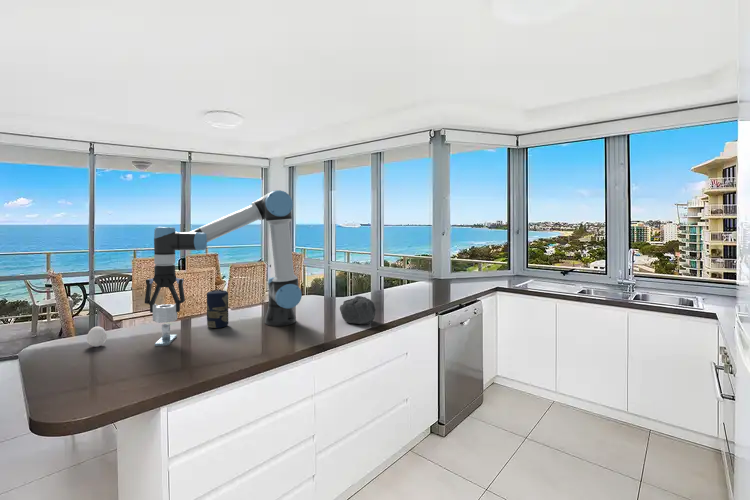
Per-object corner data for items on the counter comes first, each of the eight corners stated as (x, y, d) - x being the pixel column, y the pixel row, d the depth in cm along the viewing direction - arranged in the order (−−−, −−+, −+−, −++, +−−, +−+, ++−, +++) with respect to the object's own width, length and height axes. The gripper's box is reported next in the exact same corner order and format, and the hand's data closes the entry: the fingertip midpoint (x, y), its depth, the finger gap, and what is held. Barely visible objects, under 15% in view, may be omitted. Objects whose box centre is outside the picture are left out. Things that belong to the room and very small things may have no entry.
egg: (89, 344, 149) (89, 325, 149) (109, 343, 152) (108, 323, 151) (84, 349, 143) (84, 329, 143) (104, 347, 146) (104, 327, 145)
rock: (332, 298, 192) (353, 289, 202) (336, 323, 195) (356, 313, 206) (361, 306, 177) (382, 295, 188) (365, 333, 180) (385, 321, 191)
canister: (220, 330, 173) (220, 291, 172) (202, 328, 175) (202, 290, 174) (232, 324, 183) (232, 288, 182) (215, 323, 185) (214, 287, 183)
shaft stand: (176, 336, 162) (176, 320, 161) (168, 345, 150) (168, 328, 150) (163, 337, 161) (163, 321, 160) (154, 346, 149) (154, 328, 149)
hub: (176, 318, 159) (176, 304, 159) (172, 322, 152) (172, 307, 152) (158, 318, 157) (158, 304, 157) (153, 322, 151) (152, 308, 150)
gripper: (193, 263, 160) (193, 317, 161) (140, 263, 155) (141, 318, 156) (189, 265, 152) (189, 321, 154) (134, 265, 147) (134, 323, 149)
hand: (165, 319), depth 155 cm, fingers closed on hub, 7 cm apart
